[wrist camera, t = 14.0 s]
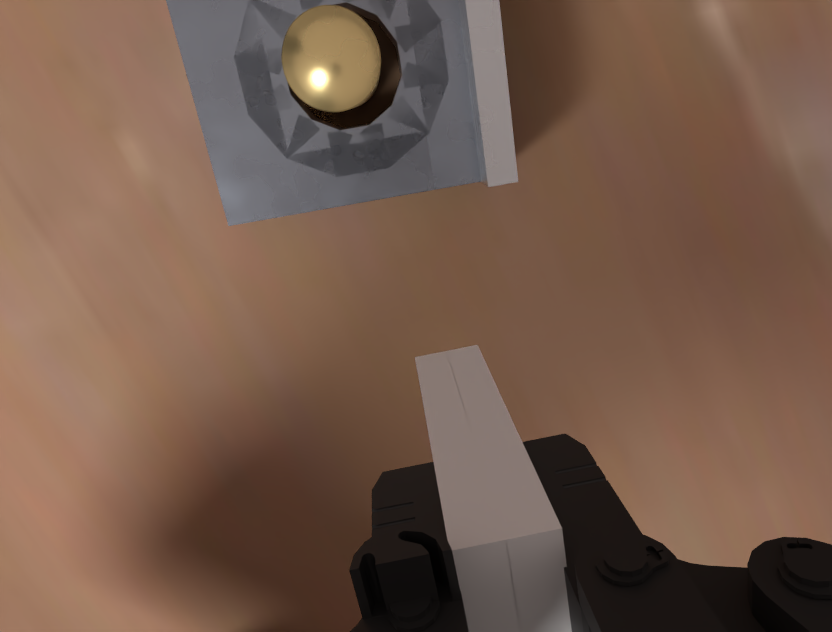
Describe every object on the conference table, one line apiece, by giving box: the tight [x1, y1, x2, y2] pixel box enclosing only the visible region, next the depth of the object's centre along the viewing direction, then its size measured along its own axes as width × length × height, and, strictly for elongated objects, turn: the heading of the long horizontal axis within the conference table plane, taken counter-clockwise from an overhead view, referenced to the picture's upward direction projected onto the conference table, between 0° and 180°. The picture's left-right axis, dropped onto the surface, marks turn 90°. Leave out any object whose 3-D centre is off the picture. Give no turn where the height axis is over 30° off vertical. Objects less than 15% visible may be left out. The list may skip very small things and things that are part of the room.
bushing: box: [281, 5, 381, 112], centre depth 29 cm, size 4×4×10 cm
